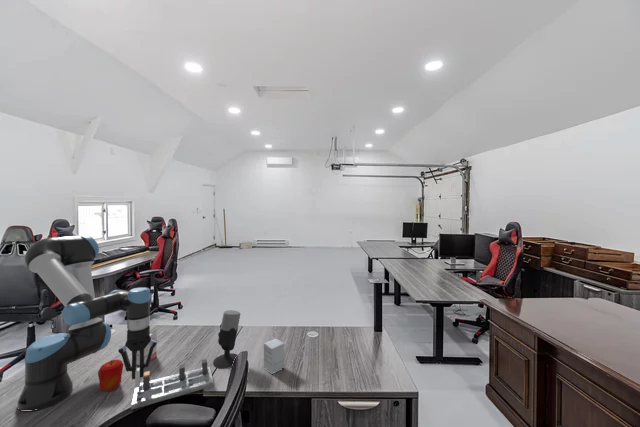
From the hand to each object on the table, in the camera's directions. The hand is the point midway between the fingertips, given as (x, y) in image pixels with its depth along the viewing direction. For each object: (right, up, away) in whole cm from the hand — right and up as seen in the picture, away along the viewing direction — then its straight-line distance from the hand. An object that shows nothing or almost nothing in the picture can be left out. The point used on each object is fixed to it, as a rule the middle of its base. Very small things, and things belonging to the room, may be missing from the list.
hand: (137, 385), depth 104 cm
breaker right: (+21, -4, +12) cm, 25 cm away
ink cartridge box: (-14, -5, +26) cm, 30 cm away
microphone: (+26, -6, +27) cm, 38 cm away
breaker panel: (+11, -5, +7) cm, 14 cm away
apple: (-16, -5, +6) cm, 18 cm away
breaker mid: (+14, -3, +8) cm, 16 cm away
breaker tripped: (+2, -3, +2) cm, 4 cm away
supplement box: (+51, -7, +22) cm, 56 cm away
